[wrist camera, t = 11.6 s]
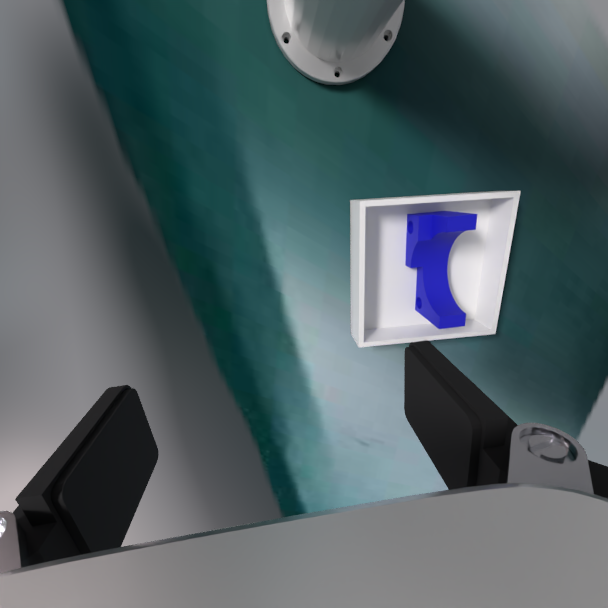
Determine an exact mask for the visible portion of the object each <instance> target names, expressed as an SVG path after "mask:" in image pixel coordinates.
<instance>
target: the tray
mask: <svg viewBox="0 0 608 608" xmlns="http://www.w3.org/2000/svg"><path fill="white" fill-rule="evenodd" d="M520 192H521V191H487V192H471V193H455V194H439V195H423V196H407V197H391V198H374V199H358V200H350V285H351V335H352V336H353V338H354V340H355V342H356V343H357V345H358V347H368V346H379V345H389V344H399V343H409V342H418V341H424V340H427V341H429V340H439V339H450V338H460V337H470V336H480V335H490V334H495V333H496V328H497V322H498V316H499V311H500V305H501V299H502V294H503V288H504V282H505V277H506V271H507V265H508V260H509V254H510V248H511V243H512V237H513V231H514V226H515V220H516V214H517V209H518V203H519V197H520ZM436 211H453V212H463V213H472V214H477V223H476V230H468V231H465V232H463V233H461V234H460V235H459V236H458V237H457V238H456V240H455V241H454V243H453V245H452V247H451V250H450V253H449V258H448V265H447V275H448V283H449V287H450V291H451V294H452V296H453V298H454V300H455V302H456V304H457V305H458V306H459V308H460V309H461V310H462V311H463V312H465V313H466V321H465V326H461V327H453V328H445V329H438V328H437V327H436V326H434V325H433V324H432V323H431V322H429V321H428V320H427V319H426V318H424V317H423V316H422V315H421V314H420V313H418V312H417V311H416V310H415V301H416V280H417V268H409V267H407V266H406V265H405V261H406V233H407V214H414V213H425V212H436Z"/></svg>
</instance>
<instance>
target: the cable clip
mask: <svg viewBox="0 0 608 608" xmlns="http://www.w3.org/2000/svg"><path fill="white" fill-rule="evenodd" d="M476 223H477V214H472V213H463V212H453V211H436V212H425V213H414V214H407V233H406V261H405V265H406V266H407V267H409V268H417V280H416V301H415V310H416V311H417V312H418V313H420V314H421V315H422V316H423V317H424V318H426V319H427V320H428V321H429V322H431V323H432V324H433V325H434V326H436V327H437V328H438V329H445V328H453V327H461V326H465V321H466V313H465V312H463V311H462V310H461V309H460V308H459V306H458V305H457V304H456V302H455V300H454V298H453V296H452V294H451V291H450V287H449V283H448V275H447V265H448V258H449V253H450V250H451V247H452V245H453V243H454V241H455V240H456V238H457V237H458V236H459V235H460V234H461V233H463V232H465V231H468V230H476Z"/></svg>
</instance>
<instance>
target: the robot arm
mask: <svg viewBox="0 0 608 608" xmlns="http://www.w3.org/2000/svg"><path fill="white" fill-rule="evenodd" d="M404 6H405V0H267V9H268V16H269V21H270V25H271V29H272V32H273V35H274V37H275V40H276V42H277V45H278V46H279V48H280V50H281V51H282V53H283V55H284V56H285V58H286V59H287V60H288V61H289V62H290V63H291V65H292V66H293V67H294V68H295V69H296V70H298V71H299V72H300V73H301V74H303V75H304V76H306V77H308V78H310V79H311V80H313V81H315V82H319V83H323V84H327V85H342V84H347V83H352V82H354V81H356V80H358V79H361V78H363V77H364V76H365V75H367V74H368V73H370V72H371V71H372V70H373V69H374V68H375V67H376V66H377V65H378V64H379V63H380V62H381V61H382V60H383V58H384V57H385V56H386V54H387V53H388V52H389V50H390V48H391V47H392V45H393V43H394V41H395V39H396V37H397V34H398V31H399V28H400V25H401V22H402V17H403V12H404ZM384 37H386V38H387V41H385V39H384ZM285 39H287V40H288V41H289V43H288V44H286V43H284V40H285ZM335 73H338V74H339V77H338V78H337V77H336V76H335V75H334V74H335ZM404 409H405V415H406V418H407V420H408V422H409V423H410V425H411V427H412V428H413V430H414V432H415V433H416V435H417V437H418V438H419V440H420V442H421V443H422V445H423V447H424V448H425V450H426V452H427V453H428V455H429V457H430V459H431V460H432V462H433V464H434V465H435V467H436V469H437V470H438V472H439V474H440V475H441V477H442V479H443V480H444V482H445V484H446V485H447V487H448V489H449V490H445V491H438V492H432V493H425V494H419V495H412V496H406V497H400V498H394V499H388V500H382V501H377V502H371V503H365V504H359V505H353V506H347V507H342V508H336V509H330V510H324V511H318V512H313V513H307V514H301V515H296V516H290V517H284V518H279V519H273V520H267V521H262V522H256V523H250V524H245V525H240V526H234V527H228V528H222V529H217V530H211V531H206V532H200V533H195V534H189V535H184V536H179V537H173V538H167V539H162V540H157V541H151V542H146V543H140V544H135V545H129V546H124V547H121V545H122V542H123V540H124V538H125V535H126V533H127V531H128V528H129V526H130V524H131V521H132V519H133V517H134V514H135V512H136V509H137V507H138V505H139V502H140V500H141V498H142V495H143V493H144V491H145V488H146V486H147V484H148V481H149V479H150V477H151V474H152V472H153V470H154V467H155V465H156V463H157V460H158V448H157V445H156V443H155V440H154V437H153V435H152V432H151V429H150V426H149V423H148V421H147V418H146V416H145V412H144V410H143V407H142V404H141V402H140V399H139V396H138V393H137V391H136V390H135V389H131V387H130V386H128V385H124V386H117V387H111V388H108V389H107V390H106V391H105V392H104V393H103V395H102V396H101V397H100V398H99V399H98V401H97V402H96V403H95V404H94V405H93V407H92V408H91V409H90V410H89V411H88V412H87V414H86V415H85V416H84V417H83V418H82V420H81V421H80V422H79V423H78V425H77V426H76V427H75V428H74V429H73V431H72V432H71V433H70V434H69V435H68V437H67V438H66V439H65V440H64V441H63V442H62V444H61V445H60V446H59V447H58V448H57V450H56V451H55V452H54V453H53V455H52V456H51V457H50V458H49V459H48V461H47V462H46V463H45V464H44V465H43V467H42V468H41V469H40V470H39V471H38V472H37V474H36V475H35V476H34V477H33V479H32V480H31V481H30V482H29V483H28V484H27V486H26V487H25V488H24V489H23V490H22V492H21V493H20V494H19V495H18V496H17V498H16V501H17V503H18V504H19V506H18V507H17V508H16V509H15V511H14V512H13V513H12V512H9V511H0V608H608V467H607V466H604V465H601V464H598V463H595V462H592V461H589V460H588V459H587V455H586V452H585V450H584V448H583V447H582V446H581V445H580V444H579V442H578V441H577V440H575V439H574V438H572V437H571V436H570V435H568V434H567V433H565V432H563V431H561V430H559V429H557V428H554V427H551V426H548V425H544V424H538V423H524V424H520V425H517V424H516V423H515V422H514V421H513V420H512V419H511V418H509V417H508V416H507V415H506V414H505V413H504V412H503V411H502V410H501V409H500V408H499V407H498V406H497V405H496V404H495V403H494V402H493V401H492V400H491V399H489V398H488V397H487V396H486V395H485V394H484V393H483V392H482V391H481V390H480V389H479V388H478V387H477V386H476V385H475V384H474V383H473V382H472V381H470V380H469V379H468V378H467V377H466V376H465V375H464V374H463V373H462V372H461V371H460V370H458V369H457V368H456V367H455V366H454V365H453V364H452V363H451V362H450V361H449V360H448V359H447V358H446V357H445V356H444V355H443V354H442V353H441V352H440V351H438V350H437V349H436V348H435V347H434V346H433V345H432V344H431V343H430V342H429V341H427V340H424V341H418V342H411V343H410V345H409V347H406V348H405V403H404Z"/></svg>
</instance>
